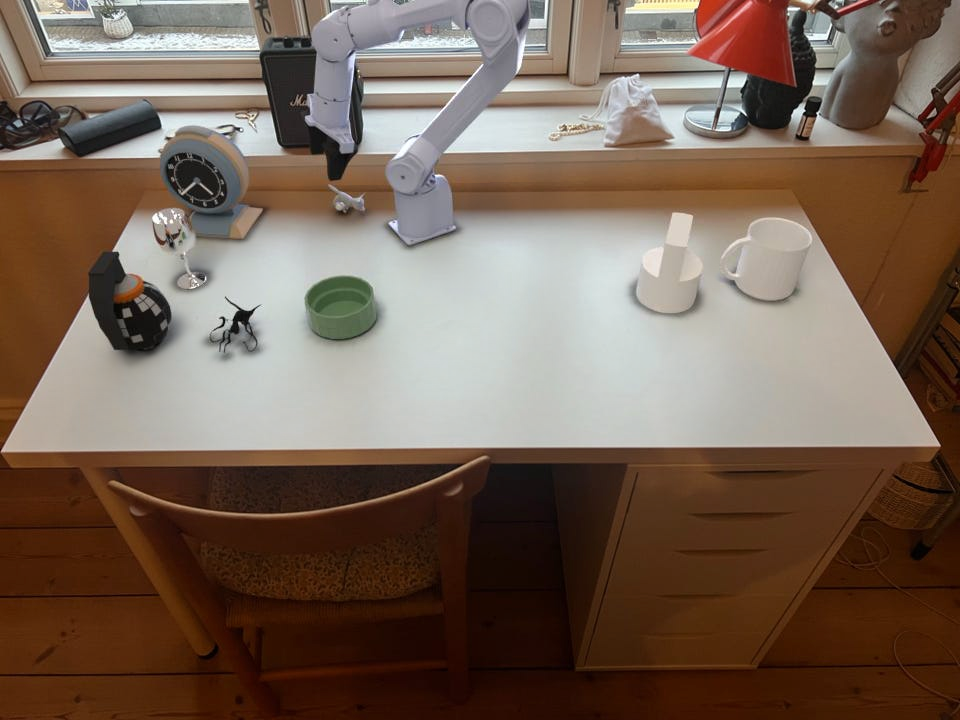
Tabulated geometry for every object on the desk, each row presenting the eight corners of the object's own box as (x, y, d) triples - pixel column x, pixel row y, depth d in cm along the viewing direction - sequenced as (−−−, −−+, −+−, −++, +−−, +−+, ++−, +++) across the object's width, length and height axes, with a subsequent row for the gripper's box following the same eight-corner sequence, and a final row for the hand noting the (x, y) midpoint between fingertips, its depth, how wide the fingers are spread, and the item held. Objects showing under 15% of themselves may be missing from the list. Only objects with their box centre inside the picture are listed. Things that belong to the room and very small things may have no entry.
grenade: (162, 372, 97) (124, 286, 87) (95, 372, 98) (49, 286, 87) (188, 319, 106) (156, 235, 95) (126, 319, 106) (87, 235, 96)
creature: (250, 365, 100) (276, 322, 104) (236, 343, 95) (264, 299, 100) (203, 353, 102) (230, 312, 106) (187, 331, 97) (217, 288, 101)
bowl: (360, 291, 110) (356, 268, 107) (388, 326, 104) (385, 302, 101) (300, 312, 107) (294, 289, 104) (325, 350, 100) (319, 326, 97)
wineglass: (199, 293, 110) (176, 228, 102) (166, 289, 111) (140, 224, 103) (216, 272, 114) (195, 207, 106) (184, 268, 115) (161, 204, 107)
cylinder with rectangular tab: (691, 318, 105) (708, 251, 97) (631, 306, 107) (643, 240, 99) (697, 283, 111) (714, 218, 103) (640, 273, 113) (652, 208, 105)
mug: (790, 270, 113) (808, 221, 107) (796, 305, 107) (815, 254, 100) (714, 262, 115) (727, 212, 109) (715, 295, 109) (729, 244, 102)
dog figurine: (353, 227, 128) (368, 208, 125) (316, 200, 126) (330, 180, 122) (358, 218, 130) (374, 199, 127) (322, 191, 128) (337, 171, 124)
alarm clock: (170, 234, 123) (135, 139, 111) (194, 205, 130) (164, 112, 118) (248, 239, 121) (221, 143, 109) (268, 210, 128) (245, 116, 116)
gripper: (290, 69, 112) (287, 144, 121) (327, 119, 104) (320, 194, 114) (332, 67, 115) (325, 140, 125) (370, 115, 108) (359, 189, 118)
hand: (325, 166), depth 120 cm, fingers open, 7 cm apart
